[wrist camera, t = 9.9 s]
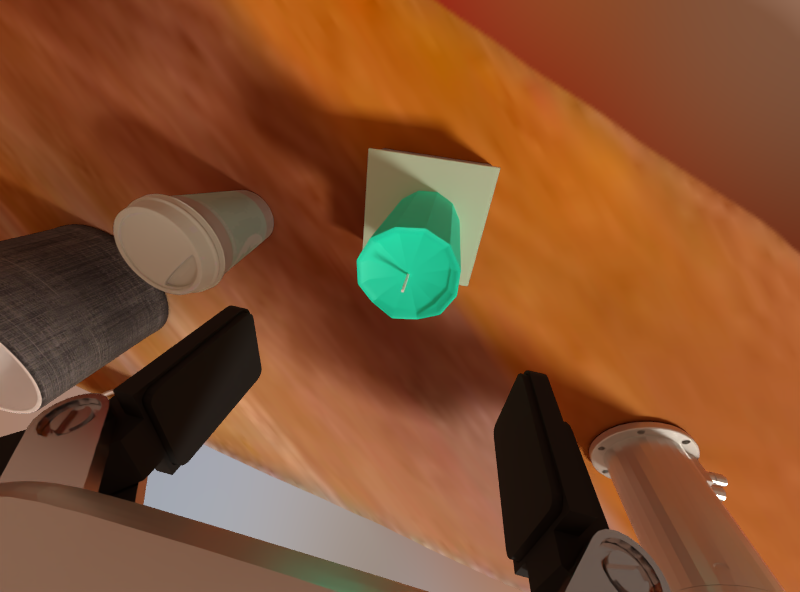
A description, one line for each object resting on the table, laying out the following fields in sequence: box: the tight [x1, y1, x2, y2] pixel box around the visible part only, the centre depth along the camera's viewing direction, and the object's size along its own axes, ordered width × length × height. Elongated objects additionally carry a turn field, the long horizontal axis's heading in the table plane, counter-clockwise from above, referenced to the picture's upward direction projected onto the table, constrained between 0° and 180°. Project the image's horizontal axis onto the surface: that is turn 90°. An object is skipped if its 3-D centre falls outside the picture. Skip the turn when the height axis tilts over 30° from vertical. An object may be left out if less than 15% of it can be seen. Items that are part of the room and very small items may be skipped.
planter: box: [0, 224, 168, 414], centre depth 36 cm, size 18×18×16 cm
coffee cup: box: [113, 190, 274, 295], centre depth 28 cm, size 8×9×12 cm
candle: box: [357, 191, 461, 319], centre depth 20 cm, size 6×6×12 cm
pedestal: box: [363, 148, 500, 286], centre depth 27 cm, size 10×10×5 cm
